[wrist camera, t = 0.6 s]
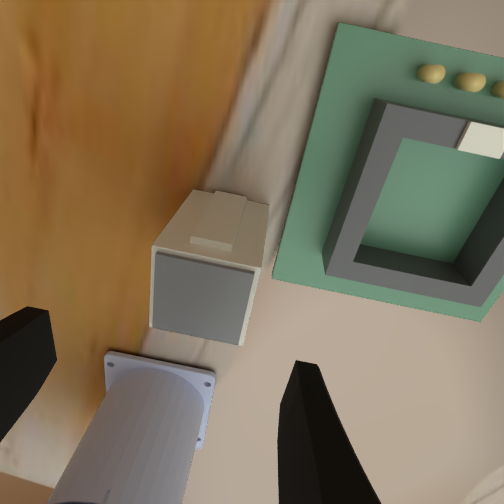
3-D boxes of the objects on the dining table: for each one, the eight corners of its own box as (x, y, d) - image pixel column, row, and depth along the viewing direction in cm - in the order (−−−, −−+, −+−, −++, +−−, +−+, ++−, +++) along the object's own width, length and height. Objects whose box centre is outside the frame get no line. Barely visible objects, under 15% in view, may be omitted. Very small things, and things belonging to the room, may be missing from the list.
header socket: (475, 314, 19) (502, 351, 17) (272, 272, 19) (269, 303, 17) (633, 88, 13) (711, 94, 11) (337, 24, 13) (348, 15, 11)
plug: (255, 268, 19) (242, 349, 14) (187, 254, 19) (147, 330, 14) (270, 199, 17) (262, 264, 12) (193, 183, 17) (150, 240, 12)
